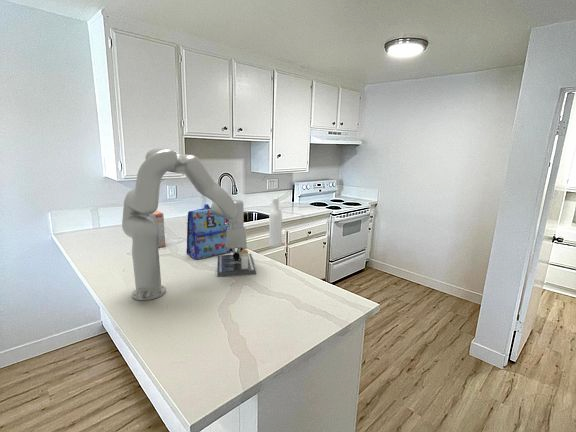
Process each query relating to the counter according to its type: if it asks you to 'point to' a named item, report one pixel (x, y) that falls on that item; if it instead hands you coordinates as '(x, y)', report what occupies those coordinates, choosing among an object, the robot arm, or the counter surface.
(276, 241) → the bottle
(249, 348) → the counter surface
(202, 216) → the lunch bag
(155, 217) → the cracker box
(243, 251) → the block
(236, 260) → the panel
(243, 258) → the block
